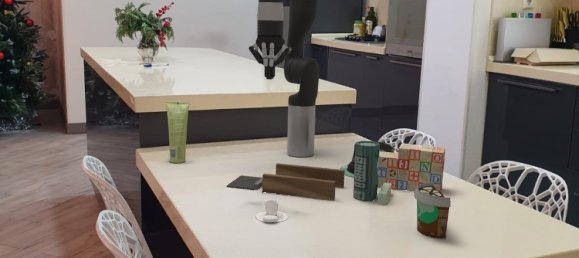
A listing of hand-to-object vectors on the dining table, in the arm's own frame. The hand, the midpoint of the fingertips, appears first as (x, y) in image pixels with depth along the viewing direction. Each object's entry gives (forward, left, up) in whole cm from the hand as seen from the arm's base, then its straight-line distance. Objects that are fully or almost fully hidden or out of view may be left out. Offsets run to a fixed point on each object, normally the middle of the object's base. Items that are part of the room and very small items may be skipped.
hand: (269, 79), depth 176 cm
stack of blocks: (-2, +40, -29) cm, 50 cm away
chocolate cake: (-16, +29, -30) cm, 44 cm away
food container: (+30, +49, -29) cm, 64 cm away
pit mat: (+10, -3, -29) cm, 31 cm away
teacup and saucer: (+36, +10, -30) cm, 47 cm away
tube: (-4, -32, -29) cm, 44 cm away
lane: (+10, +14, -29) cm, 34 cm away
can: (+11, +31, -29) cm, 44 cm away
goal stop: (+10, +36, -29) cm, 48 cm away
